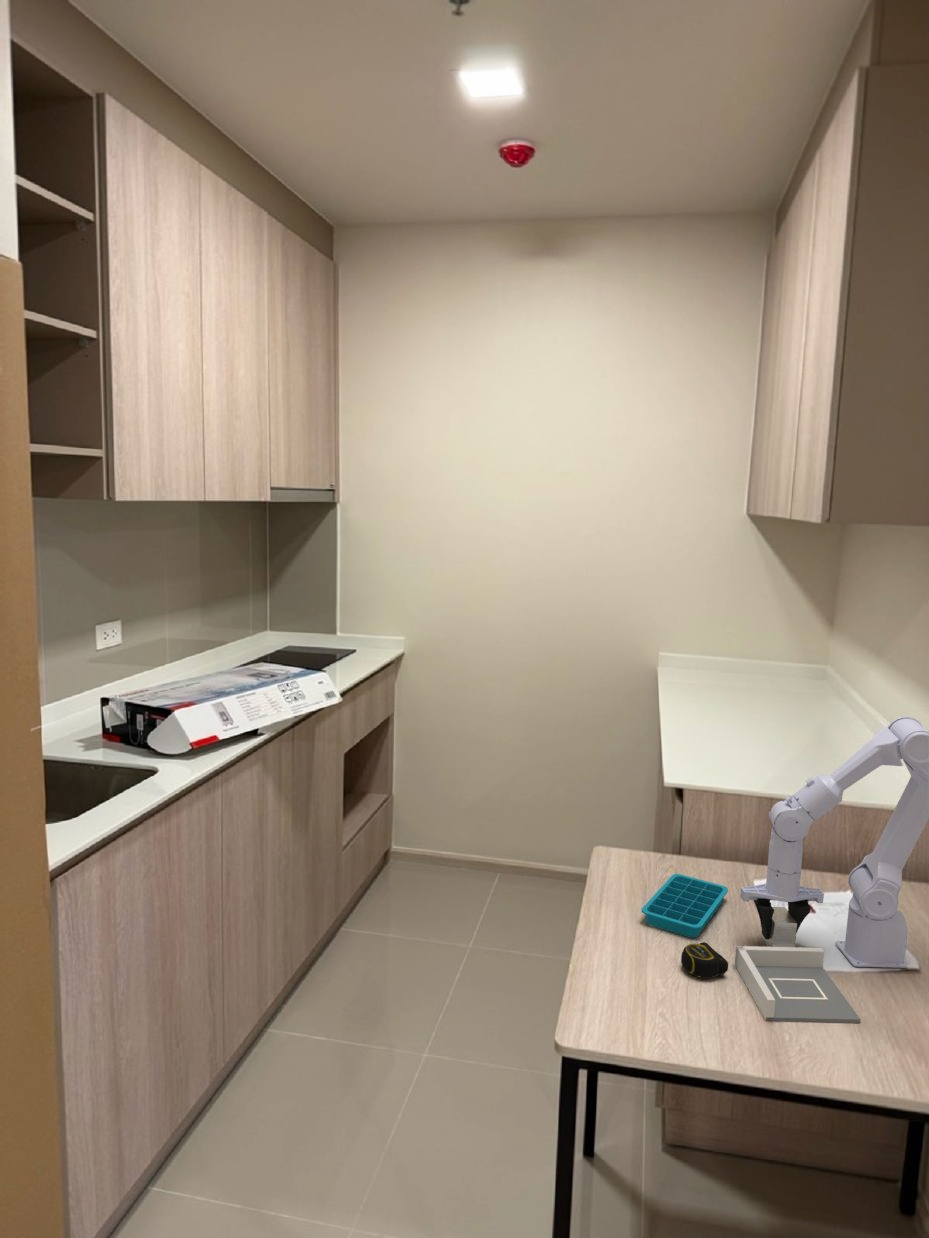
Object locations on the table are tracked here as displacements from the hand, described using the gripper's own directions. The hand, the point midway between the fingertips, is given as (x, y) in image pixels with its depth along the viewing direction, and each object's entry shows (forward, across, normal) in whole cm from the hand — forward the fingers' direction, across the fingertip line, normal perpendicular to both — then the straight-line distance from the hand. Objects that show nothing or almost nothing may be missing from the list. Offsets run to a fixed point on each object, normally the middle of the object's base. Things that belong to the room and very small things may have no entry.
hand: (778, 936), depth 160 cm
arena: (+2, +2, +15) cm, 15 cm away
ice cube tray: (+2, +14, -12) cm, 19 cm away
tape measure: (+2, +16, +8) cm, 18 cm away
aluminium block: (+2, 0, 0) cm, 2 cm away
